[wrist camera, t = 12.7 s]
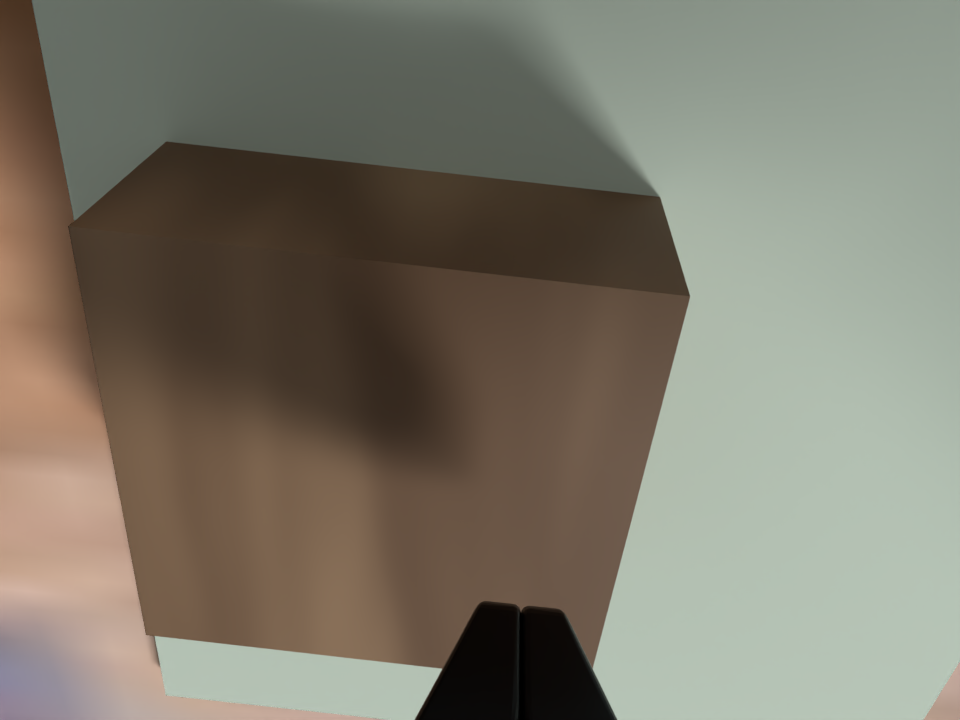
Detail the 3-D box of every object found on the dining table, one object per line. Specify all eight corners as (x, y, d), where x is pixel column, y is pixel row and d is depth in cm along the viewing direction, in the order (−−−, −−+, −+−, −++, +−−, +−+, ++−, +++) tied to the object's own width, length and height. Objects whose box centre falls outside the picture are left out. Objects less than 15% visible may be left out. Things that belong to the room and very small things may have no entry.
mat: (1484, -246, 8) (1528, -250, 7) (881, 755, 16) (889, 774, 16) (-22, -399, 8) (-48, -410, 8) (173, 677, 17) (166, 695, 16)
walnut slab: (689, 297, 8) (68, 225, 8) (588, 685, 11) (145, 635, 11) (660, 196, 10) (166, 141, 10) (580, 550, 13) (208, 507, 13)
